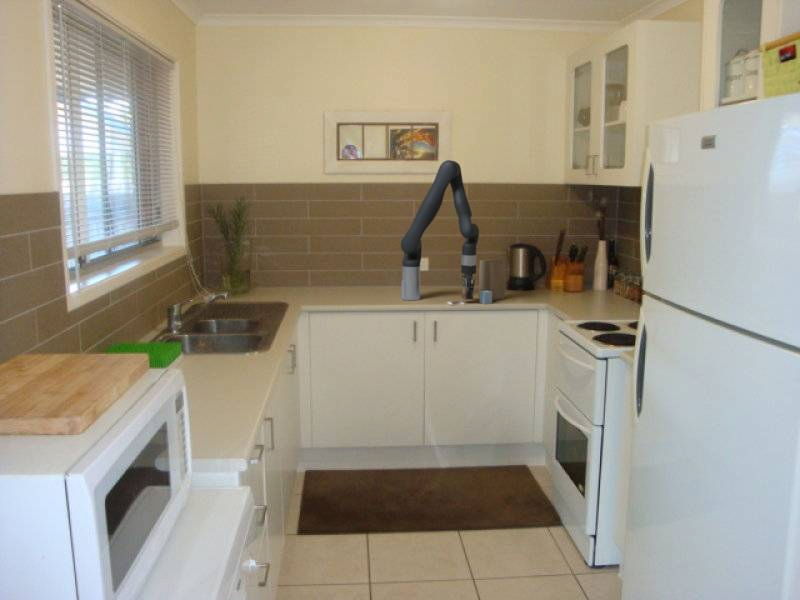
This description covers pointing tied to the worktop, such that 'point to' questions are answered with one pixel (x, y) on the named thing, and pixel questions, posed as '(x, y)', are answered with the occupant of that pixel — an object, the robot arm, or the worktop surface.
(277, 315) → the worktop surface
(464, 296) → the walnut block
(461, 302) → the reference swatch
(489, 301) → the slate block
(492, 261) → the wooden block
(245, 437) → the worktop surface
